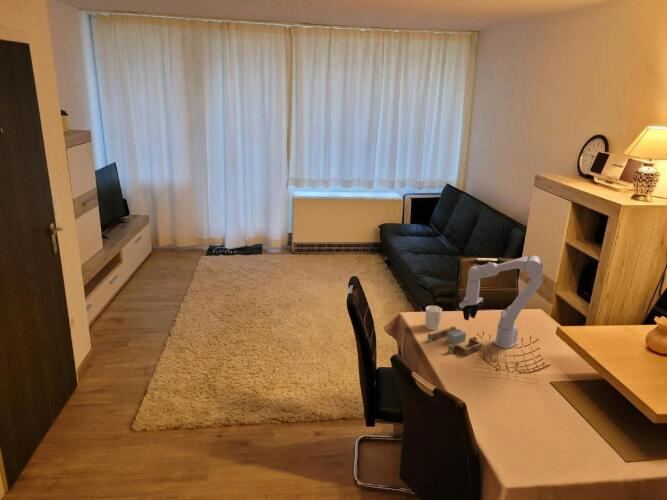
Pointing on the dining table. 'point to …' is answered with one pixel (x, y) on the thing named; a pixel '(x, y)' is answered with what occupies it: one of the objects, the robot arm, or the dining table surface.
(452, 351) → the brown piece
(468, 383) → the dining table surface
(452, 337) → the block
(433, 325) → the white cup
